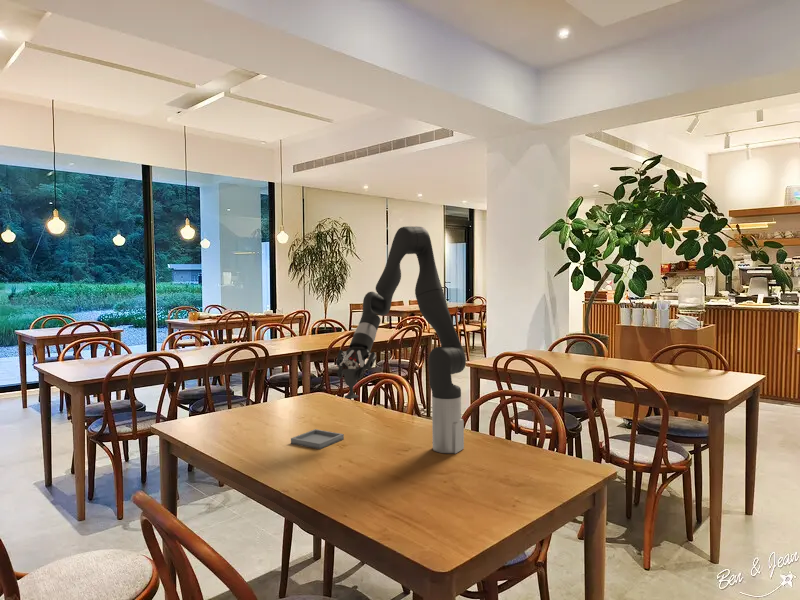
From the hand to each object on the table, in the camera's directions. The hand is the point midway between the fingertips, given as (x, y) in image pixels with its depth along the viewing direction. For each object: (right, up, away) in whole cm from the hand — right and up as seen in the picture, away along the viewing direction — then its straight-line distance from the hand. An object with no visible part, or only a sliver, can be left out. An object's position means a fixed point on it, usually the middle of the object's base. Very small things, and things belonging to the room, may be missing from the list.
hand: (348, 377), depth 182 cm
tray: (-11, -22, +3) cm, 25 cm away
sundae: (+1, -7, +2) cm, 7 cm away
